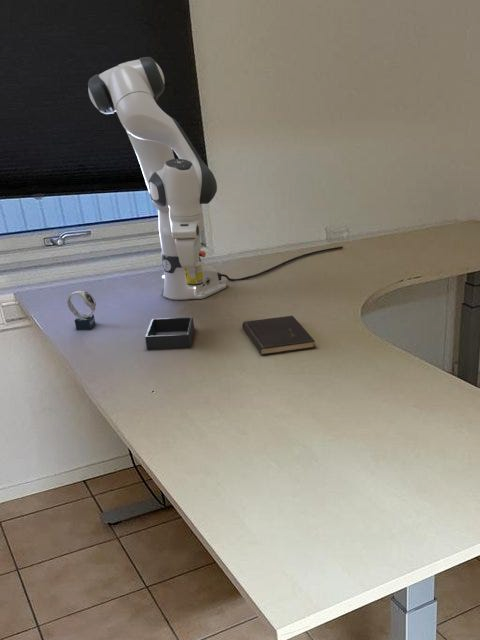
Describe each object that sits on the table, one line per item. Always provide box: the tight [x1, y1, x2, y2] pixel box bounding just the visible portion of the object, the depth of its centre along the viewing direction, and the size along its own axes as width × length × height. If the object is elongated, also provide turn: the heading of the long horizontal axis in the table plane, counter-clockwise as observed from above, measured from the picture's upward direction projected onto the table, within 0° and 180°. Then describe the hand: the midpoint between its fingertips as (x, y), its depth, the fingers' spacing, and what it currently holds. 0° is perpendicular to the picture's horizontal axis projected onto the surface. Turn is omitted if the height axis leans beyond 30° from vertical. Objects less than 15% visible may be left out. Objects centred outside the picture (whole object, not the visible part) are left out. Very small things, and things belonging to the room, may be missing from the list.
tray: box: [144, 316, 195, 351], centre depth 220 cm, size 15×12×4 cm
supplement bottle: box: [185, 255, 204, 287], centre depth 210 cm, size 5×5×8 cm
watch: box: [66, 290, 97, 331], centre depth 228 cm, size 6×8×11 cm
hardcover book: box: [242, 315, 316, 357], centre depth 220 cm, size 16×23×2 cm
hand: (194, 275), depth 211 cm, fingers closed on supplement bottle, 5 cm apart
